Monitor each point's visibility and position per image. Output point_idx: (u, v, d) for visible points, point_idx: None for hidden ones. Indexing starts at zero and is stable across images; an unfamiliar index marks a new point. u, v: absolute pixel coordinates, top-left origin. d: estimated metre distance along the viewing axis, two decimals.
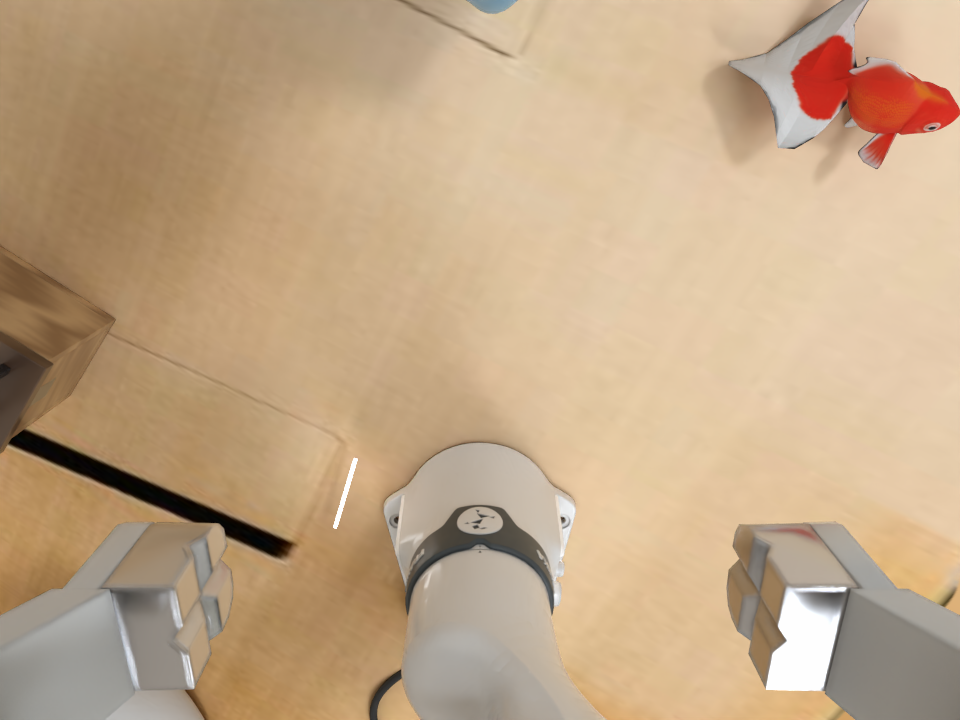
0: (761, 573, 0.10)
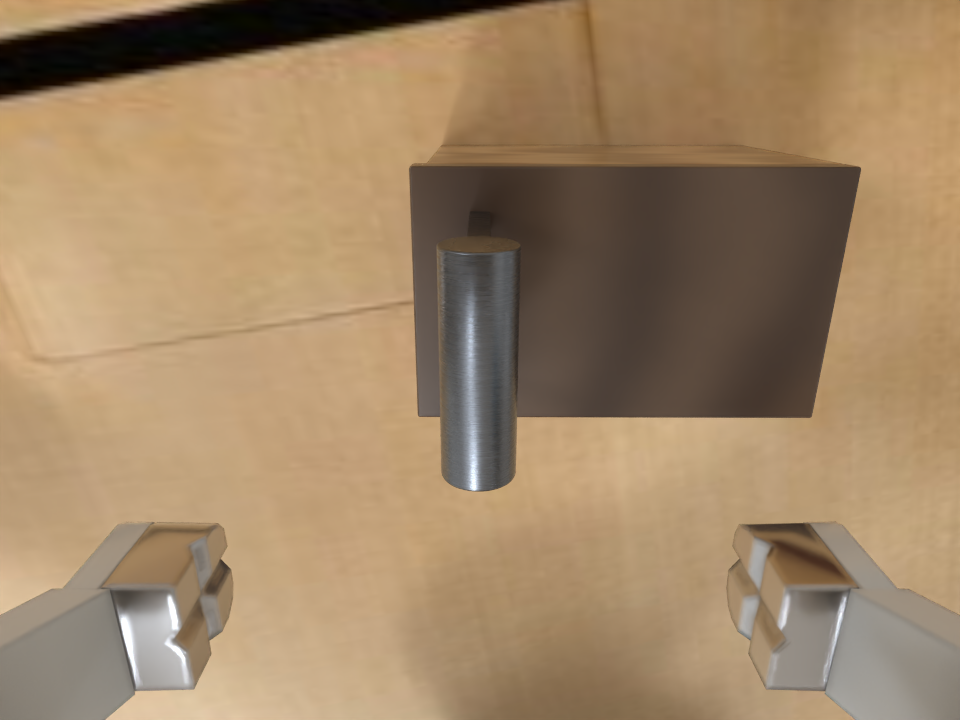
0: (762, 573, 0.10)
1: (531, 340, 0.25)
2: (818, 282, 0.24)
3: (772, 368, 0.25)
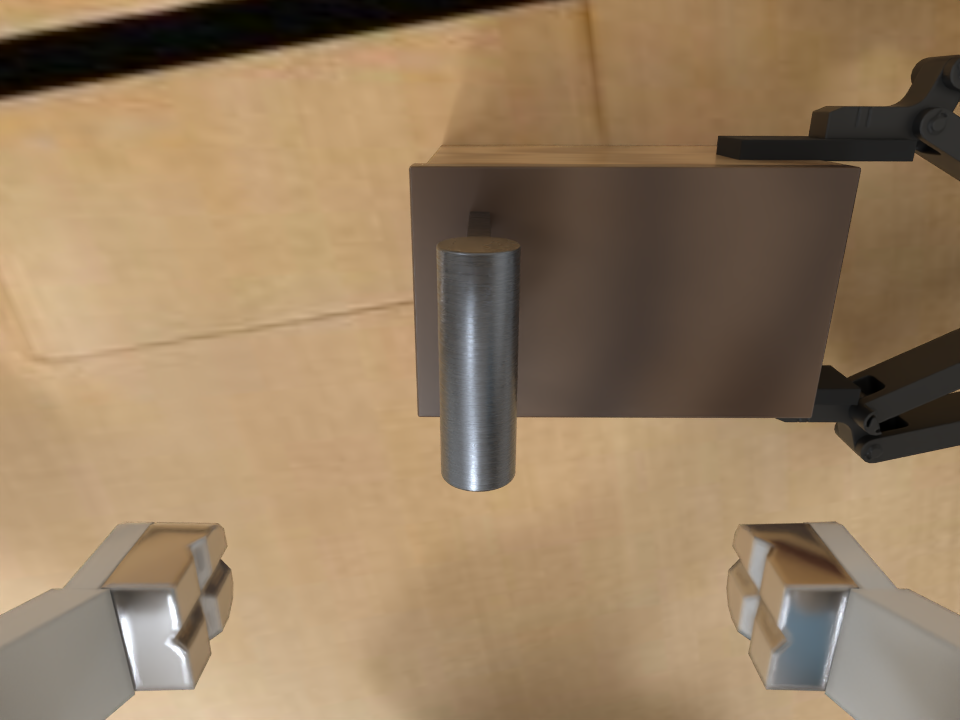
0: (761, 573, 0.10)
1: (531, 340, 0.25)
2: (818, 282, 0.24)
3: (772, 368, 0.25)
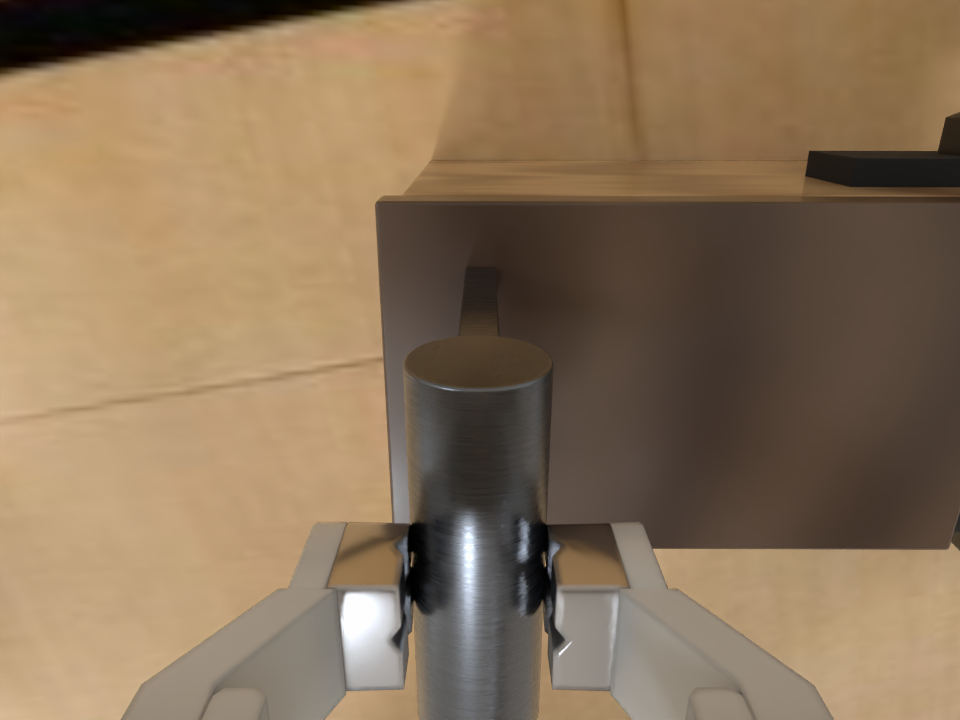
0: None
1: (554, 447, 0.17)
2: None
3: (898, 484, 0.18)
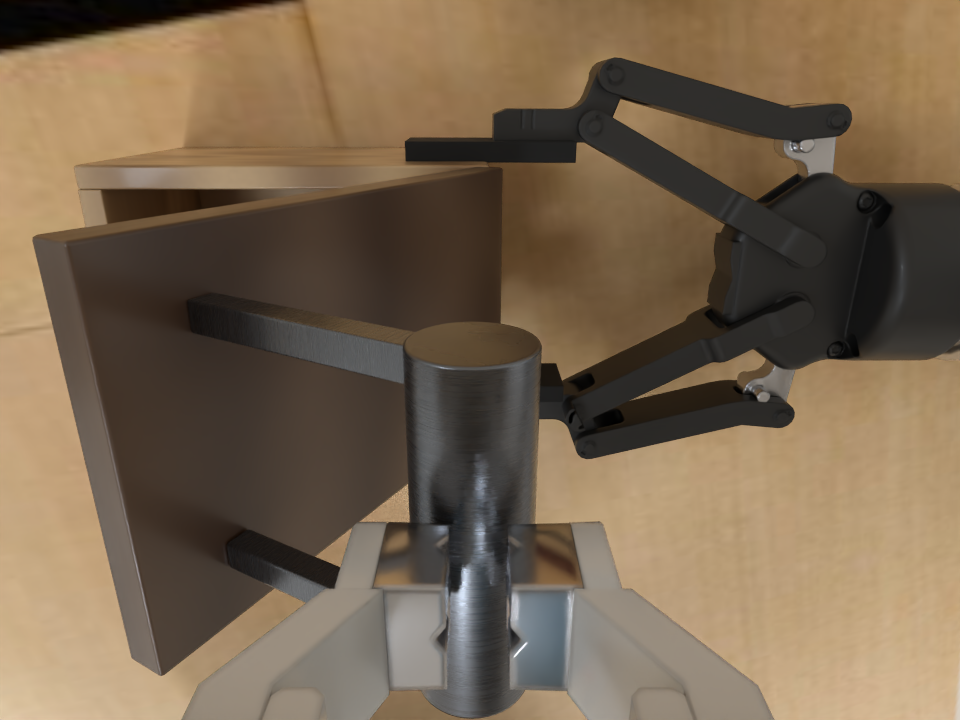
0: None
1: (292, 461, 0.17)
2: (492, 284, 0.24)
3: None
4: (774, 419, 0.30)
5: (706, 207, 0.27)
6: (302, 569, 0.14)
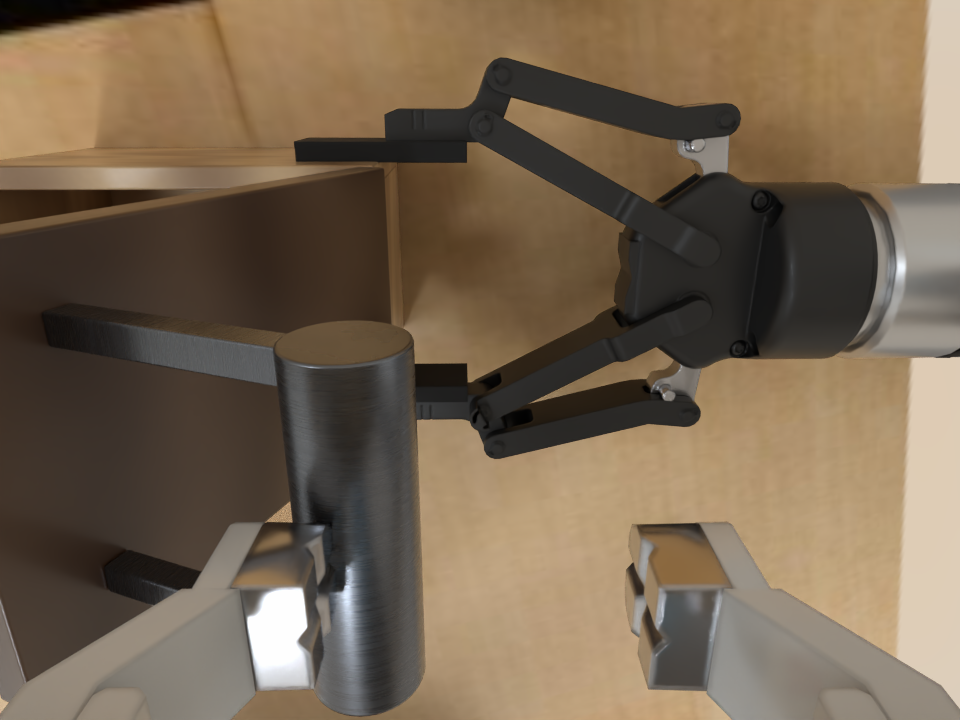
0: None
1: (174, 475, 0.16)
2: (380, 284, 0.24)
3: None
4: (680, 418, 0.30)
5: (601, 207, 0.27)
6: (188, 585, 0.14)
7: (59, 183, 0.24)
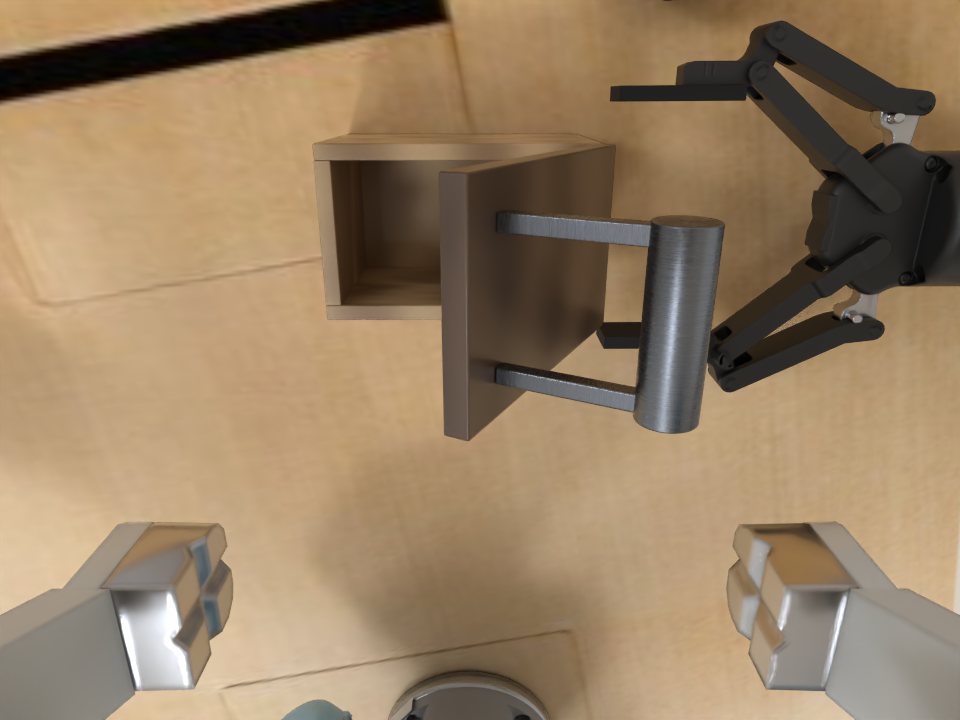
0: (761, 573, 0.10)
1: (521, 325, 0.27)
2: None
3: (594, 296, 0.34)
4: (869, 334, 0.39)
5: (823, 152, 0.36)
6: (551, 376, 0.24)
7: (383, 155, 0.34)
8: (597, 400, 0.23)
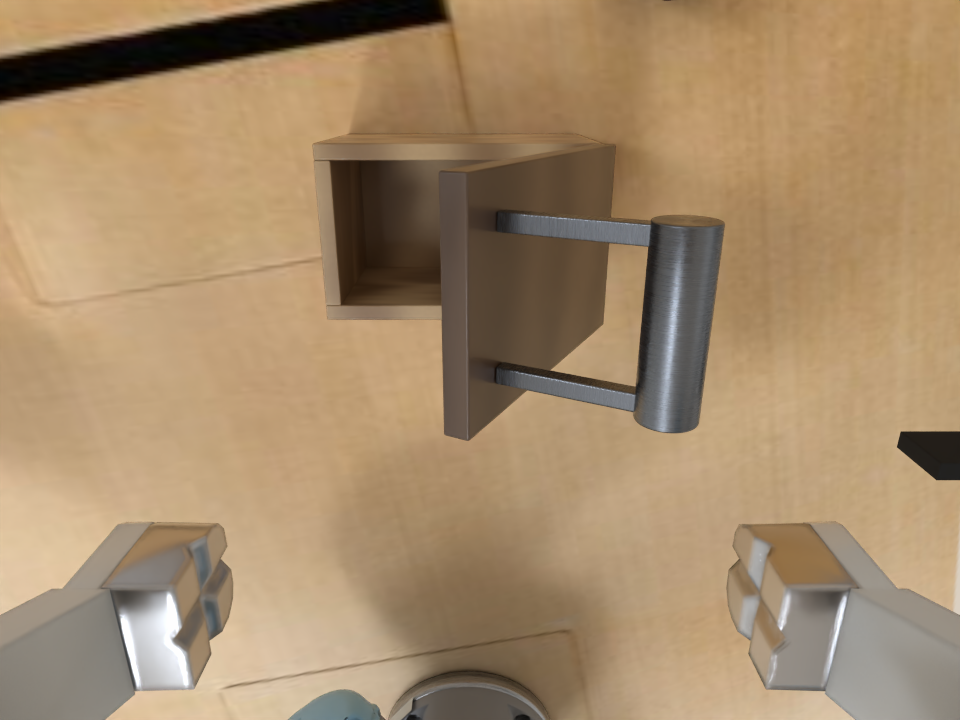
0: (761, 573, 0.10)
1: (520, 325, 0.27)
2: None
3: (594, 296, 0.34)
4: None
5: None
6: (551, 375, 0.24)
7: (383, 155, 0.34)
8: (597, 400, 0.23)
